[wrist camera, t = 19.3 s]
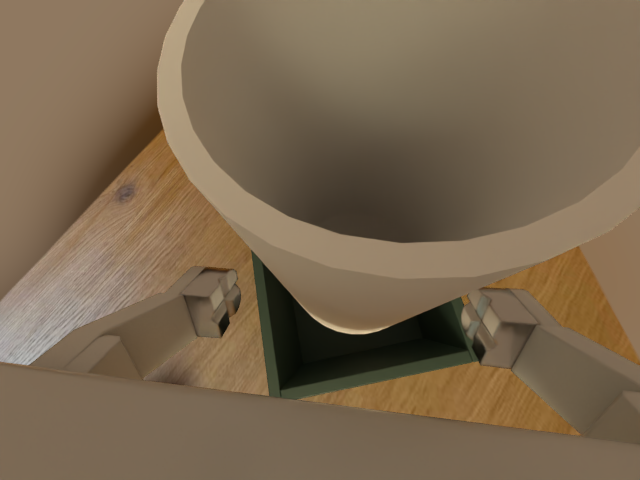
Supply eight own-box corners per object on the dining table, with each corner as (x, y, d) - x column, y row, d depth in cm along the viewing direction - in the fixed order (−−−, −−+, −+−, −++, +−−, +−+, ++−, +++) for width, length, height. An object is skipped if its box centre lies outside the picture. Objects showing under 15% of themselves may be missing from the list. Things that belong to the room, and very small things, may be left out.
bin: (390, 221, 28) (414, 172, 18) (429, 343, 24) (485, 360, 14) (278, 246, 28) (246, 211, 19) (298, 371, 24) (270, 405, 15)
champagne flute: (382, 328, 24) (1298, 599, 1) (313, 322, 25) (-95, 387, 2) (383, 260, 26) (690, -190, 3) (319, 256, 26) (162, -125, 4)
